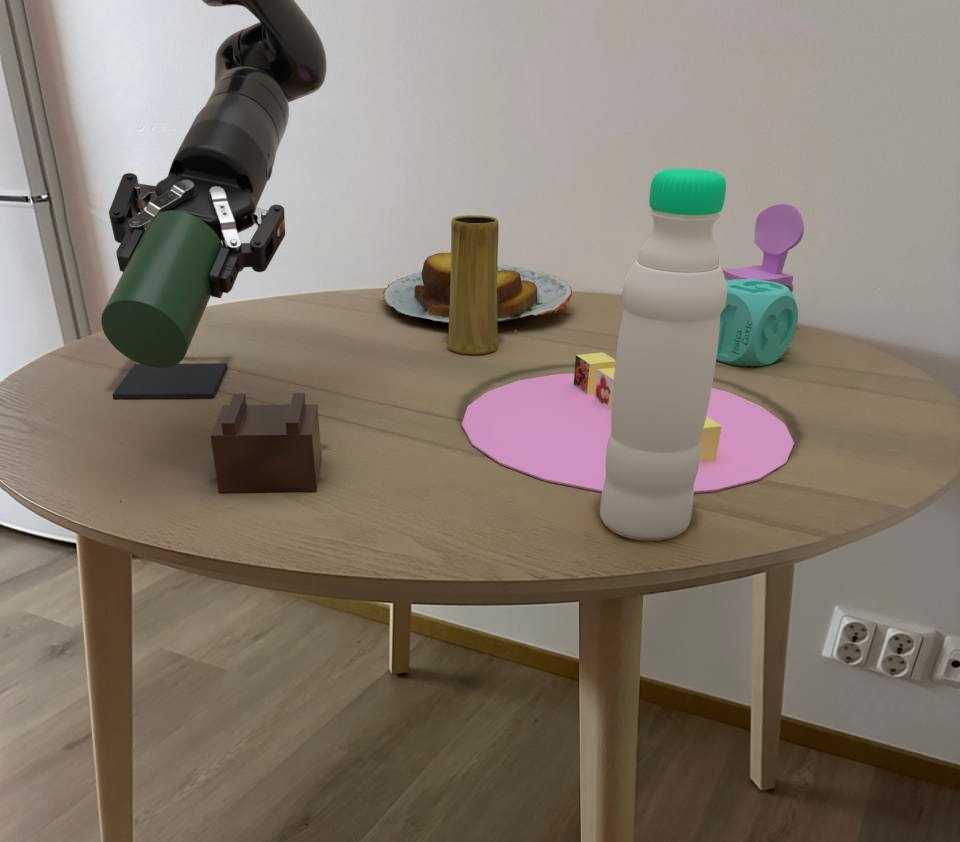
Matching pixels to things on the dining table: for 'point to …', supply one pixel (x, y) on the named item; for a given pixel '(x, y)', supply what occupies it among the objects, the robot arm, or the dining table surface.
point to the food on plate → (515, 292)
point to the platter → (587, 427)
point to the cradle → (267, 446)
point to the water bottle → (665, 360)
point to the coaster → (171, 381)
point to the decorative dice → (756, 322)
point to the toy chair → (773, 245)
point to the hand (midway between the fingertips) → (170, 279)
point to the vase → (473, 285)
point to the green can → (162, 290)
